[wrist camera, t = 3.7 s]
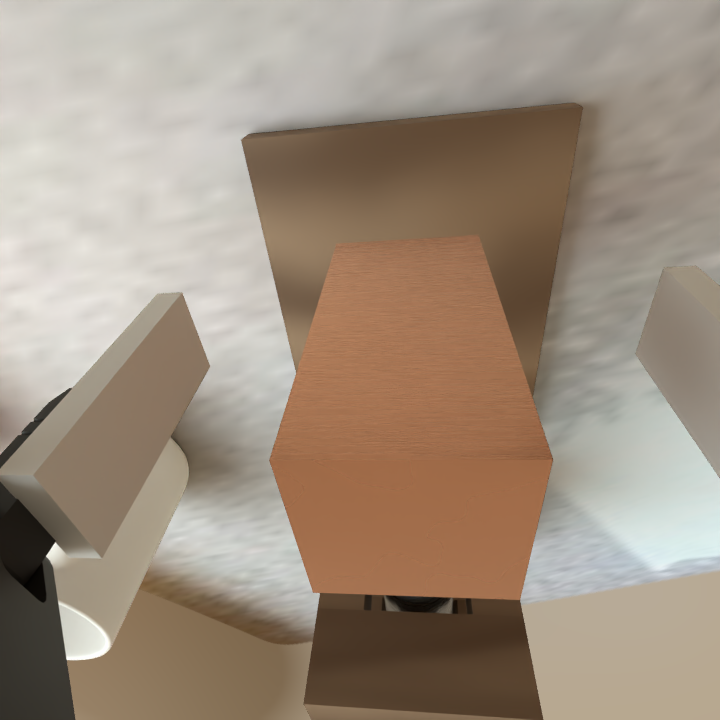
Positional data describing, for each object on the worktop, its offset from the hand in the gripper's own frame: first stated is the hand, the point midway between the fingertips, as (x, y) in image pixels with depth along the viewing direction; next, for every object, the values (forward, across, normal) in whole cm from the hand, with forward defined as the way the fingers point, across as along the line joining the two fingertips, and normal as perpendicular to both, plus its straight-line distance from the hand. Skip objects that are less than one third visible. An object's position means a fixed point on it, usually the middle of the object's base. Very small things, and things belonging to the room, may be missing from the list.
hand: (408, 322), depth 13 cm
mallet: (+1, 0, -9) cm, 9 cm away
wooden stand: (+8, 0, -9) cm, 12 cm away
